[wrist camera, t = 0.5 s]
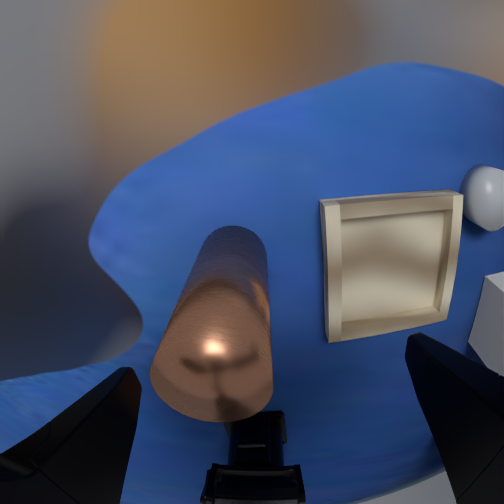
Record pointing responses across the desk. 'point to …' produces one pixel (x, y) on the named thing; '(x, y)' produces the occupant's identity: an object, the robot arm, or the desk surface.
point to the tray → (388, 261)
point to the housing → (490, 324)
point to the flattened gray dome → (484, 197)
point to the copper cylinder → (219, 333)
